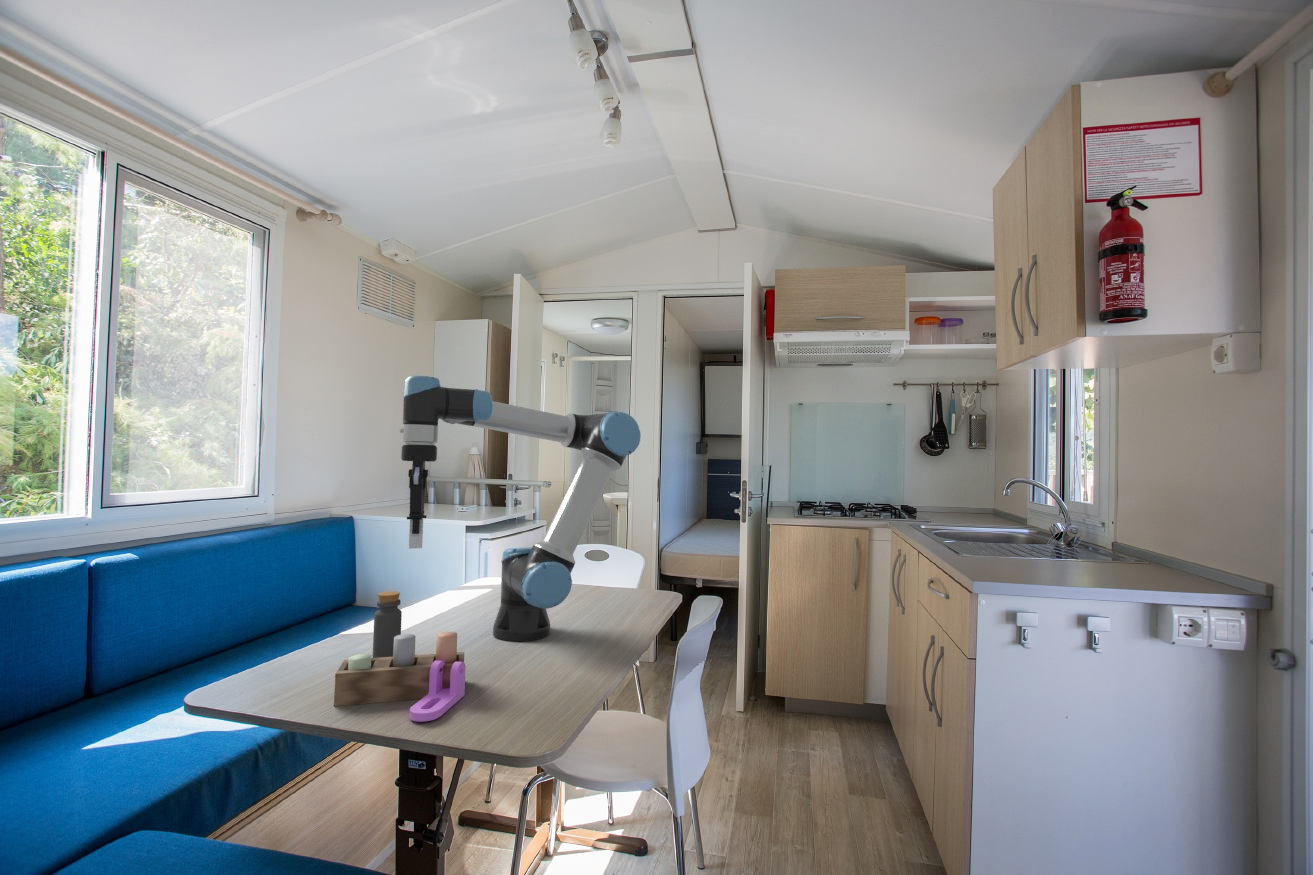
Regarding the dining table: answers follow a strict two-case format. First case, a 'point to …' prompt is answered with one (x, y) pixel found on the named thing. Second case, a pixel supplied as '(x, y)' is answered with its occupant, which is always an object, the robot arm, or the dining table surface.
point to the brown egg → (446, 647)
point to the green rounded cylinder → (359, 662)
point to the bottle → (386, 624)
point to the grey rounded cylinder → (404, 650)
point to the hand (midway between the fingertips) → (415, 547)
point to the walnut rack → (387, 680)
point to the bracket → (440, 693)
